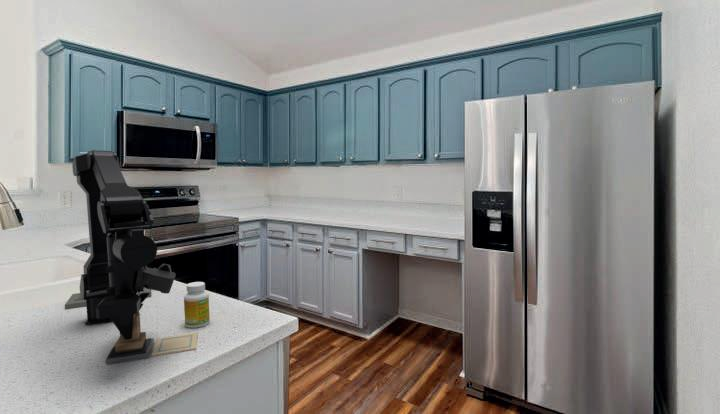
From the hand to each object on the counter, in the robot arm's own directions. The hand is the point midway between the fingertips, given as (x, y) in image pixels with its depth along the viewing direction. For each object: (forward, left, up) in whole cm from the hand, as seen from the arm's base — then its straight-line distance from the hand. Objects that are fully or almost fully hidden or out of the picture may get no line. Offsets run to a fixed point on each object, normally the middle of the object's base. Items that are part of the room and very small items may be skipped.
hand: (130, 335), depth 75 cm
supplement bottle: (+12, +11, -4) cm, 17 cm away
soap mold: (-12, +41, -4) cm, 43 cm away
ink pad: (0, 0, -4) cm, 4 cm away
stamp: (0, 0, -2) cm, 2 cm away
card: (+8, +1, -4) cm, 9 cm away
